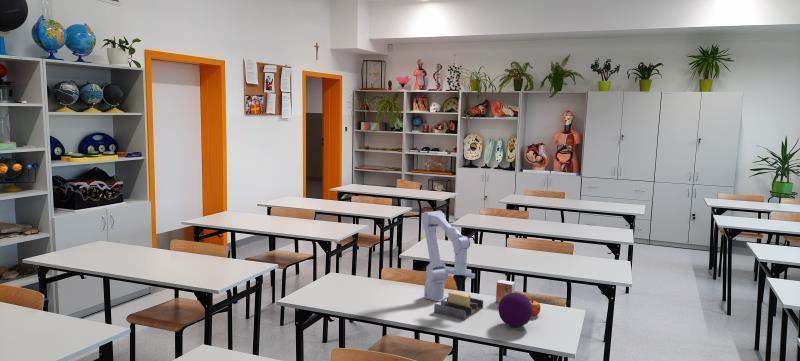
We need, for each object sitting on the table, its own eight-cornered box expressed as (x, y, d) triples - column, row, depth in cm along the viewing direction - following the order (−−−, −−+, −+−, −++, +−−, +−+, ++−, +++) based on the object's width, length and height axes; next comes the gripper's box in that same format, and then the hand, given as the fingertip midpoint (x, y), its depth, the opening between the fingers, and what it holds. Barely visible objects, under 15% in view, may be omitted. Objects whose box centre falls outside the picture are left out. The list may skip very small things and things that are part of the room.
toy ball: (532, 321, 260) (533, 289, 258) (531, 334, 246) (533, 300, 244) (498, 318, 264) (500, 286, 262) (496, 330, 250) (497, 297, 248)
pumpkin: (522, 316, 267) (523, 301, 266) (524, 310, 274) (525, 295, 273) (539, 318, 264) (540, 303, 263) (540, 312, 272) (541, 297, 271)
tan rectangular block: (448, 306, 274) (448, 292, 273) (451, 305, 277) (451, 291, 276) (466, 311, 269) (467, 297, 268) (469, 309, 271) (470, 295, 270)
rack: (434, 312, 269) (434, 304, 269) (453, 301, 285) (453, 293, 284) (464, 320, 260) (464, 311, 260) (482, 308, 276) (483, 300, 276)
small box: (495, 302, 285) (496, 282, 283) (498, 299, 290) (499, 279, 288) (511, 305, 281) (512, 284, 280) (514, 302, 286) (515, 281, 285)
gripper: (442, 261, 270) (442, 289, 272) (470, 266, 262) (469, 295, 264) (450, 258, 276) (449, 285, 278) (477, 263, 268) (476, 291, 270)
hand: (459, 290), depth 271 cm, fingers closed
